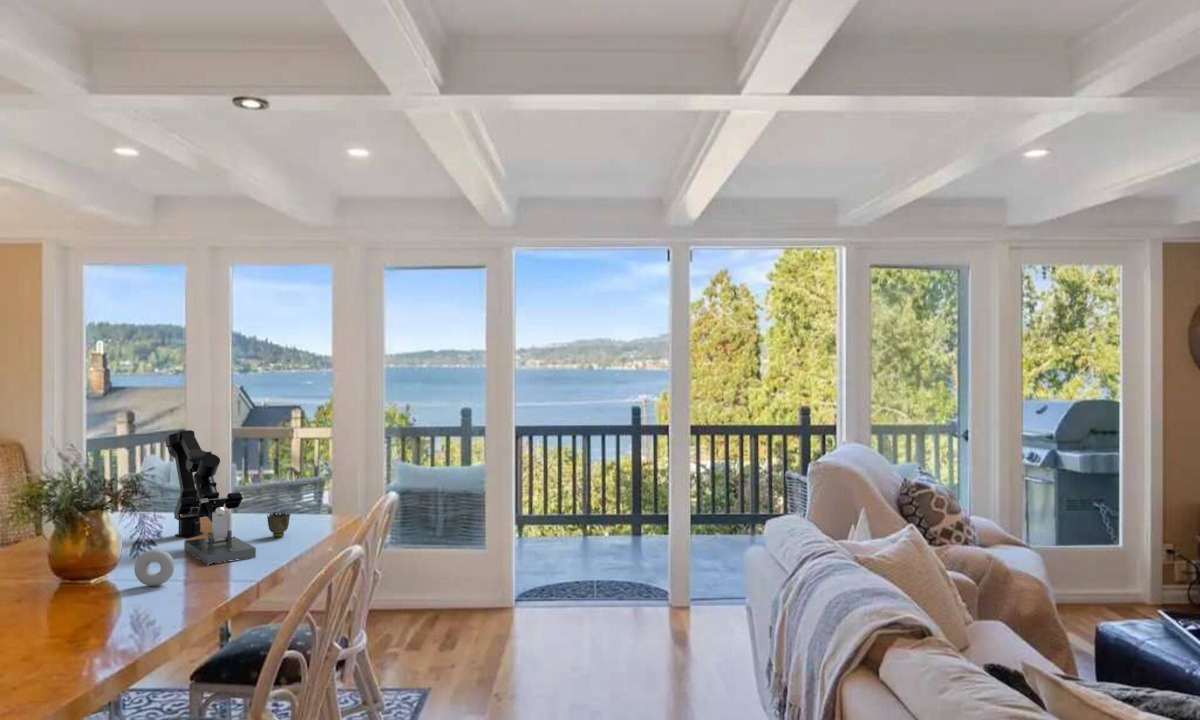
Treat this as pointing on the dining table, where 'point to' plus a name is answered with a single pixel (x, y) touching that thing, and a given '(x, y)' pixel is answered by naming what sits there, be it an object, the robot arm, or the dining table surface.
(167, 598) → the dining table surface
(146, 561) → the donut
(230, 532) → the lever base
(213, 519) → the lever
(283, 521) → the cup
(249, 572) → the dining table surface
